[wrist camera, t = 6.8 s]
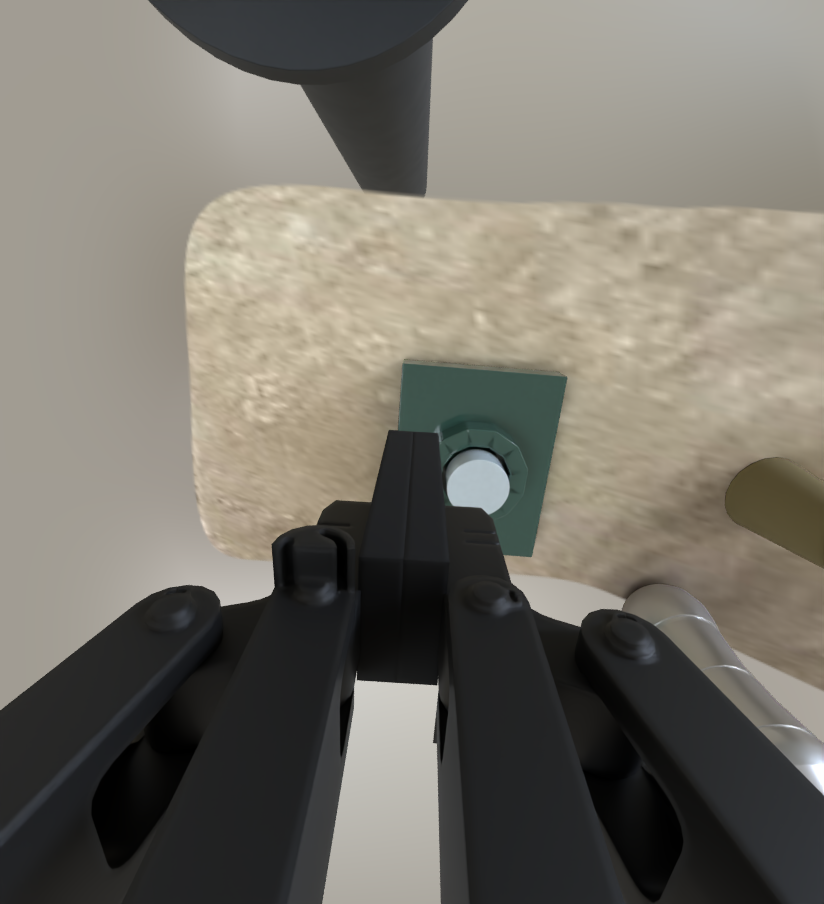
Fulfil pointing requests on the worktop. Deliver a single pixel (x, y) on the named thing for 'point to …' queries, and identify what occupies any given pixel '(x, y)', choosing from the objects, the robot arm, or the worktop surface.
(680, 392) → the worktop surface
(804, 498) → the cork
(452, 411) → the green button base
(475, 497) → the white push button
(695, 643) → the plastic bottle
